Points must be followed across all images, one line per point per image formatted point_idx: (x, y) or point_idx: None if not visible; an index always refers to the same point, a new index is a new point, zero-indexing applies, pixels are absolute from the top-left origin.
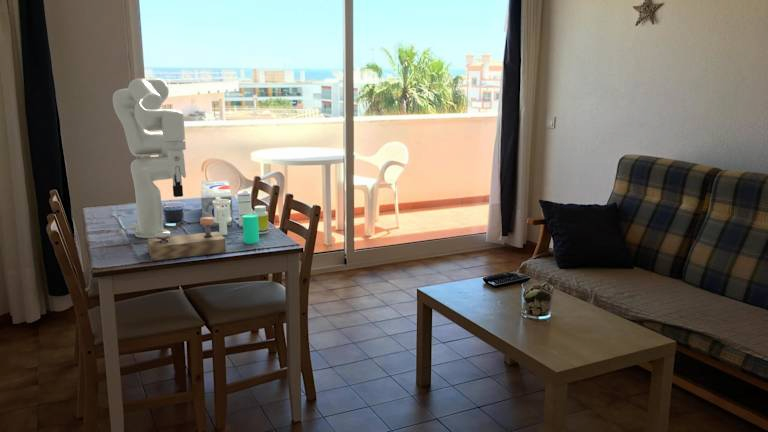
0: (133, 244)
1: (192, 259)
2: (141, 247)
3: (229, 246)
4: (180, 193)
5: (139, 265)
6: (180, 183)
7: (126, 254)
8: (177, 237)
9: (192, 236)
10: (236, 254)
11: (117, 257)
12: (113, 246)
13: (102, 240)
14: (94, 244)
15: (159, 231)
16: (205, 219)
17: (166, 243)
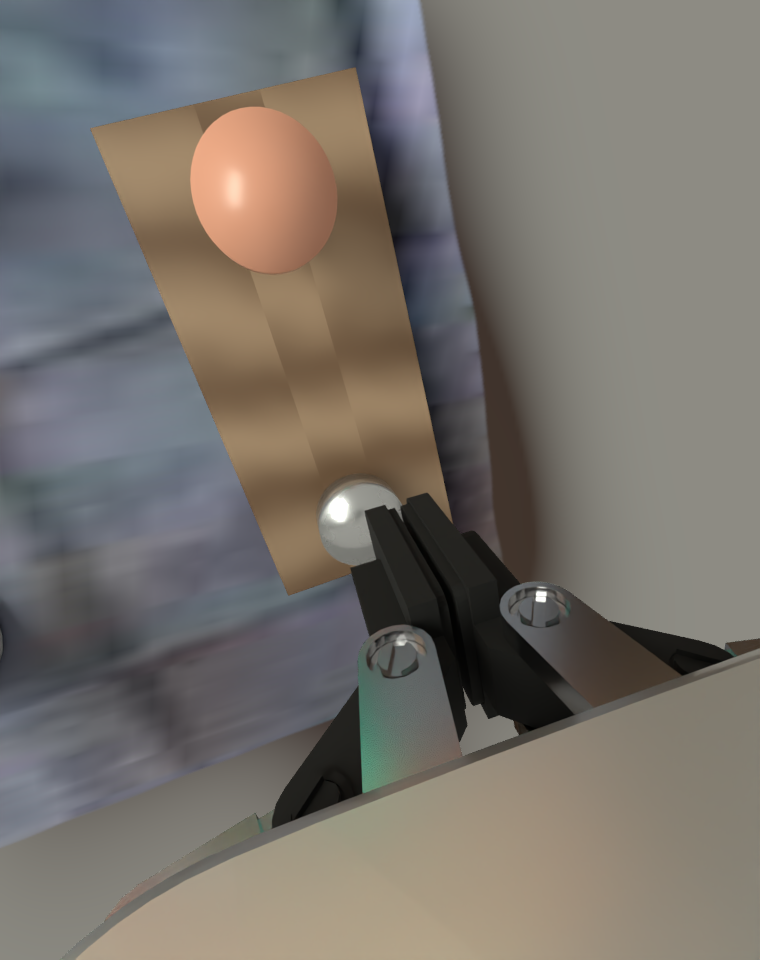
0: (134, 656)
1: (454, 321)
2: (195, 607)
3: (197, 71)
4: (475, 535)
5: (485, 538)
6: (593, 629)
7: (313, 630)
8: (271, 441)
9: (253, 345)
10: (412, 25)
11: (354, 647)
12: (171, 718)
13: (56, 794)
14: (133, 793)
15: (345, 550)
16: (317, 211)
17: (403, 477)
